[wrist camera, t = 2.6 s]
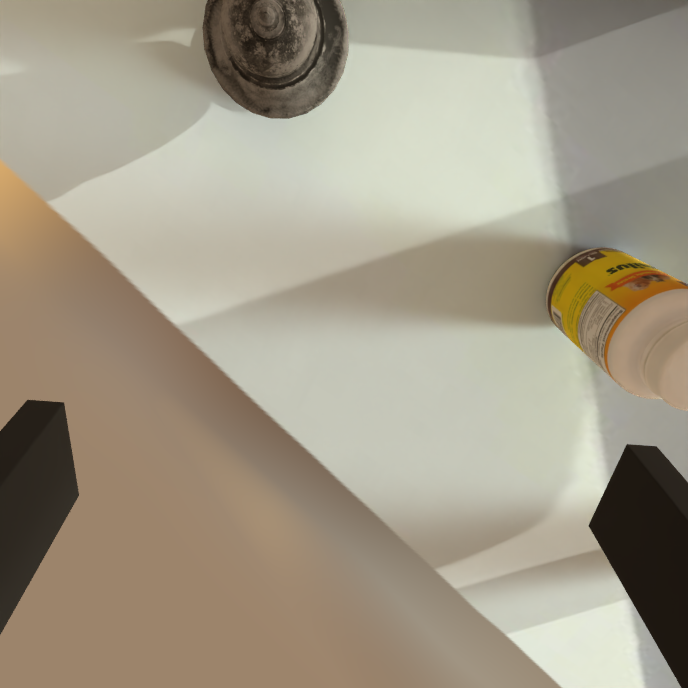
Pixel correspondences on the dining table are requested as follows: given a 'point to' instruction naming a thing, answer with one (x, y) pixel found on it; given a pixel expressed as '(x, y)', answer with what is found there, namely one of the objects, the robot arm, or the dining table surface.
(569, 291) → the supplement bottle
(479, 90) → the dining table surface
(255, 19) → the salt shaker
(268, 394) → the dining table surface
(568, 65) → the dining table surface
